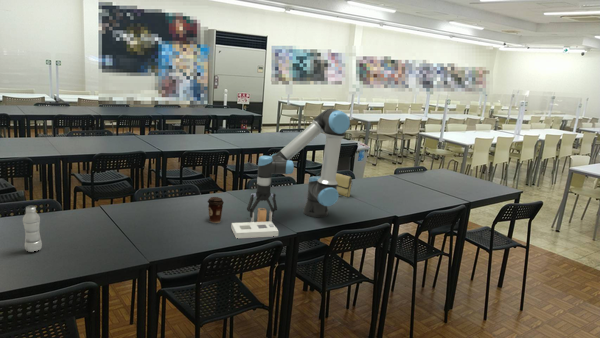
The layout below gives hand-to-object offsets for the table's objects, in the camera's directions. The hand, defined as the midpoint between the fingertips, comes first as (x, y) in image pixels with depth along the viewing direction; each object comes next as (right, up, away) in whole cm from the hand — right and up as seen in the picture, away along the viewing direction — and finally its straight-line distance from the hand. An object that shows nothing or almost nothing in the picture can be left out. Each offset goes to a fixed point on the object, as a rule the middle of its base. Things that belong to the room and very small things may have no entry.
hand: (261, 222), depth 245 cm
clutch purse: (+45, +12, +69) cm, 83 cm away
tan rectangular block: (0, 0, 0) cm, 0 cm away
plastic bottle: (-94, -6, -55) cm, 109 cm away
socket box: (-2, -3, -14) cm, 15 cm away
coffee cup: (-26, +1, -3) cm, 26 cm away
